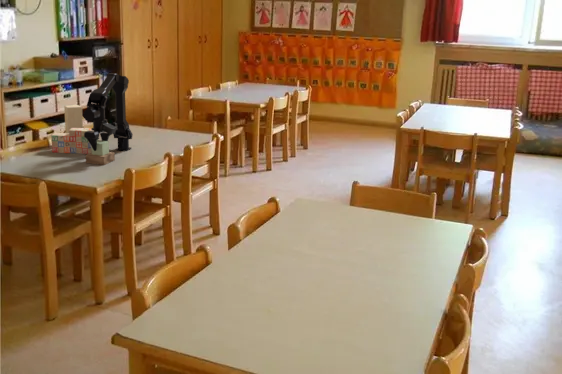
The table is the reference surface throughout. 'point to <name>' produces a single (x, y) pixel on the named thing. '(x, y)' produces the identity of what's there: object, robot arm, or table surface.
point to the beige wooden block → (73, 117)
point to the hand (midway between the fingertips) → (100, 148)
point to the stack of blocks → (71, 141)
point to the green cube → (101, 148)
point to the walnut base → (100, 158)
